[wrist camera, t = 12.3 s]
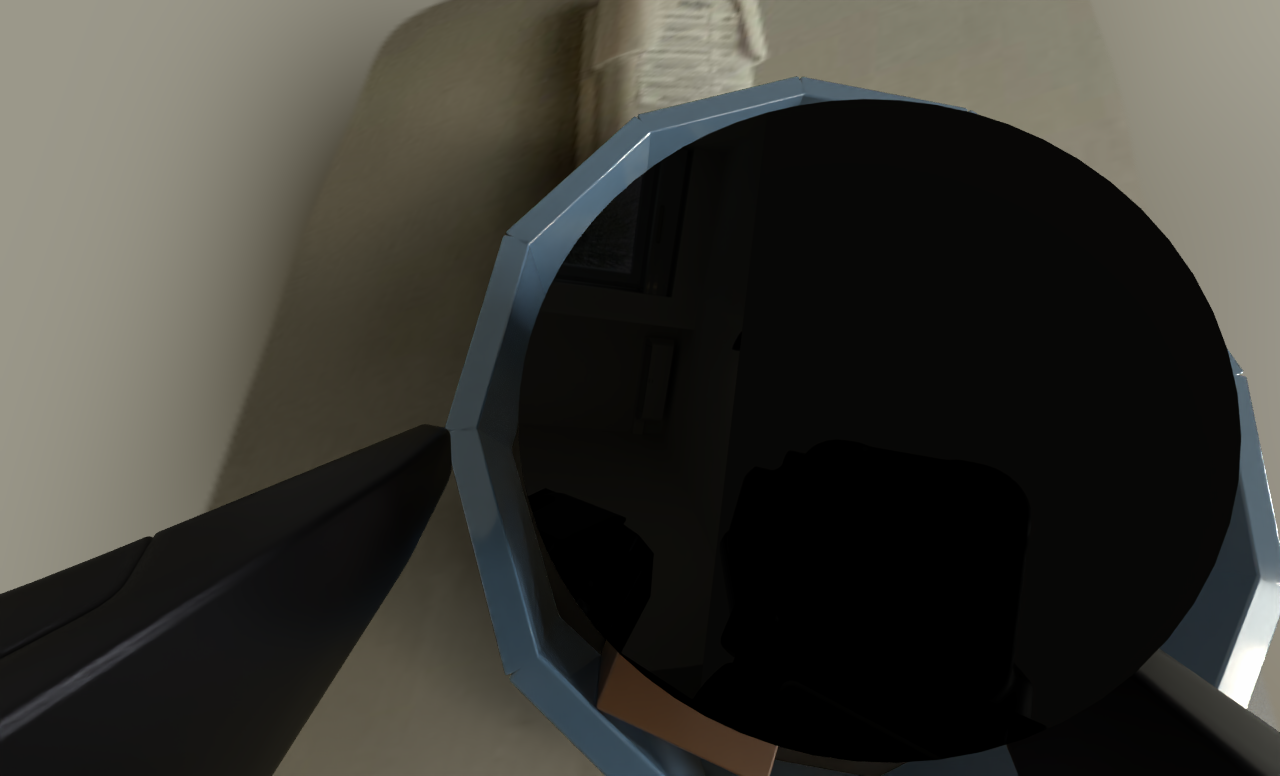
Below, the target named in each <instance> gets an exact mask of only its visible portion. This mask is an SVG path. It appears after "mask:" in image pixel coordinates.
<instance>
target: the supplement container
mask: <svg viewBox="0 0 1280 776" xmlns="http://www.w3.org/2000/svg"><path fill="white" fill-rule="evenodd" d="M518 425H519V447H520V456H521V464H522V472H523V476H524V481H525V486H526V491H527V495H528V499H529V503H530V506H531V509H532V512H533V516H534V519H535V522H536V525H537V528H538V530H539V533H540V535H541V538H542V540H543V543H544V545H545V547H546V550H547V552H548V554H549V556H550V558H551V560H552V562H553V564H554V566H555V568H556V570H557V572H558V574H559V575H560V577H561V579H562V581H563V582H564V584H565V586H566V587H567V589H568V590H569V592H570V593H571V595H572V596H573V598H574V600H575V601H576V603H577V604H578V606H579V607H580V608H581V610H582V611H583V612H584V613H585V615H586V616H587V617H588V619H589V620H590V621H591V622H592V624H593V625H594V626H595V628H596V629H597V630H598V631H599V632H600V633H601V634H602V636H603V637H604V638H605V639H606V640H607V641H608V642H609V643H610V644H611V645H612V646H613V647H614V648H615V649H616V651H617V652H618V653H619V654H620V655H621V656H622V657H624V658H625V659H626V660H627V661H628V662H629V663H630V664H632V665H633V666H634V667H635V668H636V669H637V670H638V671H639V672H641V673H642V674H643V675H644V676H645V677H646V678H648V679H649V680H650V681H652V682H653V683H654V684H656V685H657V686H659V687H660V688H661V689H663V690H664V691H665V692H667V693H668V694H669V695H671V696H672V697H674V698H675V699H677V700H678V701H680V702H682V703H684V704H685V705H687V706H689V707H690V708H692V709H694V710H695V711H697V712H699V713H700V714H702V715H704V716H705V717H707V718H710V719H712V720H714V721H716V722H718V723H720V724H722V725H724V726H726V727H729V728H731V729H733V730H735V731H737V732H739V733H742V734H745V735H748V736H750V737H753V738H756V739H759V740H761V741H764V742H767V743H770V744H773V745H775V746H779V747H783V748H787V749H791V750H795V751H799V752H803V753H807V754H811V755H816V756H823V757H830V758H837V759H844V760H851V761H866V762H891V763H899V762H914V761H929V760H940V759H946V758H951V757H957V756H963V755H968V754H974V753H979V752H983V751H987V750H990V749H993V748H997V747H1000V746H1003V745H1006V744H1010V743H1013V742H1016V741H1020V740H1023V739H1025V738H1028V737H1030V736H1032V735H1034V734H1037V733H1039V732H1041V731H1044V730H1046V729H1048V728H1050V727H1053V726H1055V725H1057V724H1060V723H1062V722H1064V721H1066V720H1067V719H1069V718H1071V717H1072V716H1074V715H1076V714H1077V713H1079V712H1081V711H1082V710H1084V709H1086V708H1087V707H1089V706H1091V705H1092V704H1094V703H1096V702H1098V701H1099V700H1101V699H1102V698H1104V697H1105V696H1106V695H1107V694H1109V693H1110V692H1111V691H1113V690H1114V689H1115V688H1116V687H1118V686H1119V685H1120V684H1121V683H1123V682H1124V681H1125V680H1127V679H1128V678H1129V677H1130V676H1132V675H1133V674H1134V673H1135V672H1137V671H1138V670H1139V669H1140V668H1141V667H1142V666H1143V665H1144V664H1145V663H1146V661H1147V660H1148V659H1149V658H1150V657H1151V656H1152V655H1153V654H1154V653H1155V652H1156V651H1157V650H1158V649H1159V648H1160V647H1161V646H1162V645H1163V644H1164V643H1165V642H1166V641H1167V640H1168V639H1169V637H1170V636H1171V635H1172V633H1173V632H1174V630H1175V629H1176V628H1177V626H1178V625H1179V624H1180V622H1181V621H1182V620H1183V618H1184V617H1185V615H1186V614H1187V613H1188V611H1189V610H1190V609H1191V607H1192V606H1193V605H1194V603H1195V601H1196V599H1197V597H1198V596H1199V594H1200V592H1201V590H1202V588H1203V586H1204V584H1205V582H1206V581H1207V579H1208V577H1209V575H1210V573H1211V571H1212V569H1213V568H1214V566H1215V563H1216V561H1217V558H1218V555H1219V552H1220V550H1221V547H1222V544H1223V541H1224V539H1225V536H1226V533H1227V530H1228V528H1229V525H1230V521H1231V516H1232V511H1233V506H1234V502H1235V497H1236V492H1237V487H1238V482H1239V469H1240V452H1241V426H1240V415H1239V403H1238V393H1237V388H1236V384H1235V380H1234V375H1233V371H1232V366H1231V362H1230V357H1229V353H1228V350H1227V347H1226V345H1225V342H1224V339H1223V337H1222V334H1221V331H1220V329H1219V326H1218V323H1217V321H1216V318H1215V315H1214V313H1213V311H1212V309H1211V307H1210V305H1209V303H1208V301H1207V299H1206V297H1205V295H1204V294H1203V292H1202V290H1201V288H1200V286H1199V285H1198V282H1197V280H1196V279H1195V277H1194V275H1193V273H1192V272H1191V271H1190V269H1189V268H1188V266H1187V265H1186V263H1185V262H1184V261H1183V259H1182V258H1181V256H1180V255H1179V253H1178V252H1177V251H1176V249H1175V248H1174V246H1173V245H1172V243H1171V242H1170V241H1169V239H1168V238H1167V237H1166V236H1165V235H1164V234H1163V233H1162V232H1161V230H1160V229H1159V228H1158V227H1157V226H1156V225H1155V224H1154V223H1153V221H1152V220H1151V219H1150V218H1149V217H1148V216H1147V215H1146V214H1145V213H1144V211H1143V210H1142V209H1141V208H1140V207H1138V206H1137V205H1136V204H1135V203H1134V202H1133V201H1132V200H1130V199H1129V198H1128V197H1127V196H1126V195H1125V194H1124V193H1123V192H1121V191H1120V190H1119V189H1118V188H1117V187H1116V186H1115V185H1114V184H1112V183H1111V182H1110V181H1109V180H1107V179H1106V178H1104V177H1103V176H1101V175H1100V174H1099V173H1097V172H1096V171H1094V170H1093V169H1092V168H1090V167H1089V166H1087V165H1086V164H1084V163H1083V162H1082V161H1080V160H1079V159H1077V158H1075V157H1074V156H1072V155H1070V154H1068V153H1066V152H1065V151H1063V150H1061V149H1059V148H1058V147H1056V146H1054V145H1052V144H1050V143H1049V142H1047V141H1045V140H1043V139H1041V138H1039V137H1036V136H1034V135H1032V134H1029V133H1027V132H1025V131H1022V130H1020V129H1018V128H1015V127H1013V126H1011V125H1009V124H1006V123H1003V122H1000V121H996V120H993V119H990V118H987V117H984V116H981V115H978V114H975V113H971V112H967V111H962V110H958V109H953V108H949V107H944V106H940V105H935V104H927V103H919V102H911V101H903V100H881V99H854V100H836V101H826V102H818V103H811V104H804V105H797V106H793V107H789V108H784V109H780V110H776V111H771V112H767V113H764V114H761V115H757V116H754V117H751V118H748V119H745V120H742V121H739V122H736V123H733V124H731V125H729V126H726V127H724V128H721V129H719V130H717V131H714V132H712V133H709V134H707V135H705V136H703V137H701V138H699V139H698V140H696V141H694V142H692V143H690V144H688V145H686V146H684V147H682V148H680V149H679V150H677V151H676V152H674V153H672V154H671V155H669V156H668V157H666V158H665V159H663V160H661V161H660V162H658V163H657V164H655V165H654V166H653V167H651V168H650V169H649V170H647V171H646V172H645V173H643V174H642V175H641V176H639V177H638V178H637V179H635V180H634V181H633V182H632V183H631V184H630V185H628V186H627V187H626V188H625V189H624V190H623V191H622V192H621V193H620V194H618V195H617V196H616V197H615V198H614V199H613V200H612V201H611V202H610V203H609V204H608V205H607V206H606V207H605V208H604V209H603V211H602V212H601V213H600V214H599V215H598V216H597V217H596V218H595V219H594V220H593V221H592V223H591V224H590V225H589V226H588V228H587V229H586V230H585V231H584V233H583V234H582V235H581V237H580V238H579V239H578V240H577V242H576V243H575V245H574V246H573V248H572V249H571V251H570V252H569V254H568V255H567V257H566V258H565V260H564V261H563V263H562V265H561V266H560V268H559V270H558V272H557V274H556V276H555V277H554V279H553V281H552V283H551V285H550V287H549V289H548V291H547V293H546V296H545V298H544V300H543V302H542V305H541V307H540V309H539V312H538V315H537V318H536V321H535V323H534V326H533V329H532V332H531V335H530V339H529V343H528V347H527V351H526V356H525V360H524V365H523V371H522V378H521V385H520V395H519V411H518Z"/></svg>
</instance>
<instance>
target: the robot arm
mask: <svg viewBox="0 0 1280 776" xmlns="http://www.w3.org/2000/svg"><path fill="white" fill-rule="evenodd" d="M451 470H452V456H451V436H450V432H449V431H448V430H447V429H446V428H443V427H438V426H433V425H428V424H423V425H420V426H417V427H415V428H412V429H410V430H407V431H405V432H402V433H400V434H398V435H395V436H393V437H390V438H388V439H385V440H383V441H380V442H378V443H376V444H373V445H371V446H368V447H366V448H363V449H361V450H358V451H356V452H353V453H351V454H349V455H346V456H344V457H341V458H339V459H336V460H334V461H331V462H329V463H327V464H324V465H322V466H319V467H317V468H314V469H312V470H309V471H307V472H304V473H302V474H300V475H297V476H295V477H292V478H290V479H287V480H285V481H282V482H280V483H278V484H275V485H273V486H270V487H268V488H265V489H263V490H260V491H258V492H255V493H253V494H251V495H248V496H246V497H243V498H241V499H238V500H236V501H233V502H231V503H228V504H226V505H224V506H221V507H219V508H216V509H214V510H211V511H209V512H206V513H204V514H201V515H199V516H197V517H194V518H192V519H189V520H187V521H184V522H182V523H180V524H177V525H174V526H172V527H170V528H167V529H165V530H162V531H160V532H158V533H156V534H155V536H154V537H145V538H142V539H140V540H137V541H135V542H132V543H130V544H128V545H125V546H123V547H120V548H118V549H115V550H113V551H111V552H108V553H106V554H103V555H101V556H98V557H96V558H93V559H90V560H88V561H85V562H83V563H80V564H78V565H75V566H73V567H70V568H68V569H65V570H62V571H60V572H57V573H55V574H52V575H50V576H47V577H45V578H42V579H40V580H37V581H34V582H32V583H29V584H26V585H24V586H21V587H18V588H16V589H13V590H10V591H7V592H5V593H2V594H0V776H272V775H273V773H274V772H275V770H276V769H277V767H278V766H279V764H280V762H281V761H282V759H283V758H284V756H285V755H286V753H287V751H288V750H289V748H290V747H291V745H292V744H293V742H294V741H295V739H296V737H297V736H298V734H299V733H300V731H301V730H302V728H303V726H304V725H305V723H306V722H307V720H308V719H309V717H310V715H311V714H312V712H313V711H314V709H315V708H316V706H317V704H318V703H319V701H320V700H321V698H322V697H323V695H324V693H325V692H326V690H327V689H328V687H329V686H330V684H331V682H332V681H333V679H334V678H335V676H336V675H337V673H338V671H339V670H340V668H341V667H342V665H343V664H344V662H345V660H346V659H347V657H348V656H349V654H350V653H351V651H352V649H353V648H354V646H355V645H356V643H357V642H358V640H359V638H360V637H361V635H362V634H363V632H364V631H365V629H366V627H367V626H368V624H369V623H370V621H371V620H372V618H373V616H374V615H375V613H376V612H377V610H378V609H379V607H380V605H381V604H382V602H383V601H384V599H385V598H386V596H387V594H388V593H389V591H390V590H391V588H392V587H393V585H394V583H395V582H396V580H397V579H398V577H399V576H400V574H401V572H402V571H403V569H404V567H405V566H406V564H407V562H408V561H409V559H410V557H411V555H412V553H413V551H414V549H415V547H416V545H417V543H418V541H419V539H420V537H421V535H422V533H423V531H424V529H425V527H426V525H427V523H428V521H429V519H430V517H431V515H432V513H433V511H434V509H435V507H436V505H437V503H438V501H439V499H440V497H441V495H442V493H443V491H444V489H445V487H446V485H447V483H448V481H449V478H450V475H451ZM1006 746H1007V748H1008V751H1009V753H1010V756H1011V759H1012V761H1013V764H1014V766H1015V769H1016V771H1017V774H1018V776H1280V732H1278V731H1277V730H1276V729H1274V728H1273V727H1271V726H1270V725H1268V724H1267V723H1266V722H1264V721H1263V720H1261V719H1260V718H1258V717H1257V716H1256V715H1254V714H1253V713H1251V712H1250V711H1248V710H1247V709H1245V708H1244V707H1243V706H1241V705H1240V704H1238V703H1237V702H1235V701H1234V700H1233V699H1231V698H1230V697H1228V696H1227V695H1225V694H1224V693H1223V692H1221V691H1220V690H1218V689H1217V688H1215V687H1214V686H1213V685H1211V684H1210V683H1208V682H1207V681H1205V680H1204V679H1203V678H1201V677H1200V676H1198V675H1197V674H1195V673H1194V672H1193V671H1191V670H1190V669H1188V668H1187V667H1185V666H1184V665H1183V664H1181V663H1180V662H1178V661H1177V660H1175V659H1174V658H1173V657H1171V656H1170V655H1168V654H1167V653H1165V652H1164V651H1162V650H1161V649H1160V648H1159V649H1158V650H1157V651H1156V652H1155V653H1154V654H1153V655H1152V656H1151V657H1150V658H1149V659H1148V660H1147V661H1146V663H1145V664H1144V665H1143V666H1142V667H1141V668H1140V669H1139V670H1138V671H1137V672H1135V673H1134V674H1133V675H1132V676H1130V677H1129V678H1128V679H1127V680H1125V681H1124V682H1123V683H1121V684H1120V685H1119V686H1118V687H1116V688H1115V689H1114V690H1113V691H1111V692H1110V693H1109V694H1107V695H1106V696H1105V697H1104V698H1102V699H1101V700H1099V701H1098V702H1096V703H1094V704H1092V705H1091V706H1089V707H1087V708H1086V709H1084V710H1082V711H1081V712H1079V713H1077V714H1076V715H1074V716H1072V717H1071V718H1069V719H1067V720H1066V721H1064V722H1062V723H1060V724H1057V725H1055V726H1053V727H1050V728H1048V729H1046V730H1044V731H1041V732H1039V733H1037V734H1034V735H1032V736H1030V737H1028V738H1025V739H1023V740H1020V741H1016V742H1013V743H1010V744H1006Z"/></svg>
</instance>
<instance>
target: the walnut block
mask: <svg viewBox="0 0 1280 776" xmlns="http://www.w3.org/2000/svg"><path fill="white" fill-rule="evenodd" d="M596 707H597V708H598V709H599V710H601V711H603V712H605V713H607V714H609V715H612V716H614V717H616V718H618V719H620V720H622V721H624V722H626V723H628V724H631V725H633V726H635V727H637V728H639V729H641V730H643V731H645V732H647V733H650V734H652V735H654V736H656V737H658V738H660V739H662V740H664V741H666V742H669V743H671V744H673V745H675V746H677V747H679V748H681V749H683V750H686V751H688V752H690V753H692V754H694V755H696V756H698V757H700V758H702V759H705V760H707V761H709V762H711V763H713V764H715V765H717V766H719V767H721V768H724V769H726V770H728V771H730V772H732V773H734V774H736V775H738V776H770V774H771V770H772V767H773V763H774V760H775V756H776V752H777V749H778V746H775V745H773V744H770V743H767V742H764V741H761V740H759V739H756V738H753V737H750V736H748V735H745V734H742V733H739V732H737V731H735V730H733V729H731V728H729V727H726V726H724V725H722V724H720V723H718V722H716V721H714V720H712V719H710V718H707V717H705V716H704V715H702V714H700V713H699V712H697V711H695V710H694V709H692V708H690V707H689V706H687V705H685V704H684V703H682V702H680V701H678V700H677V699H675V698H674V697H672V696H671V695H669V694H668V693H667V692H665V691H664V690H663V689H661V688H660V687H659V686H657V685H656V684H654V683H653V682H652V681H650V680H649V679H648V678H646V677H645V676H644V675H643V674H642V673H641V672H639V671H638V670H637V669H636V668H635V667H634V666H633V665H632V664H630V663H629V662H628V661H627V660H626V659H625V658H624V657H622V656H621V655H620V654H619V653H618V652H617V651H616V649H615V648H614V647H613V646H612V645H611V644H610V643H609V642H608V641H607V640H606V642H605V644H604V647H603V649H602V652H601V662H600V672H599V683H598V693H597V704H596Z"/></svg>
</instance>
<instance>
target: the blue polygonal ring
mask: <svg viewBox="0 0 1280 776" xmlns="http://www.w3.org/2000/svg"><path fill="white" fill-rule="evenodd" d="M854 99H881V100H903V101H911V102H919V103H927V104H935V105H940V106H944V107H949V108H953V109H958V110H962V111H967V109H966V108H963V107H958V106H952V105H947V104H942V103H937V102H932V101H926V100H921V99H916V98H911V97H906V96H900V95H895V94H890V93H885V92H880V91H874V90H869V89H864V88H859V87H854V86H848V85H843V84H838V83H833V82H828V81H822V80H817V79H812V78H807V77H801V78H800V79H799V77H797V76H796V77H792V78H788V79H783V80H779V81H775V82H771V83H767V84H763V85H759V86H754V87H750V88H746V89H742V90H738V91H734V92H730V93H725V94H721V95H717V96H713V97H709V98H705V99H701V100H696V101H692V102H688V103H684V104H680V105H676V106H671V107H667V108H663V109H659V110H655V111H651V112H647V113H642V114H639V115H638V118H637V117H633V118H632V119H631V120H630V121H629V122H628V123H627V124H625V125H624V126H623V127H622V128H621V129H620V130H619V131H618V132H617V133H615V134H614V135H613V136H612V137H611V138H610V139H609V140H608V141H606V142H605V143H604V144H603V145H602V146H601V147H600V148H599V149H598V150H596V151H595V152H594V153H593V154H592V155H591V156H590V157H589V158H588V159H586V160H585V161H584V162H583V163H582V164H581V165H580V166H579V167H578V168H576V169H575V170H574V171H573V172H572V173H571V174H570V175H569V176H568V177H566V178H565V179H564V180H563V181H562V182H561V183H560V184H559V185H558V186H556V187H555V188H554V189H553V190H552V191H551V192H550V193H549V194H548V195H546V196H545V197H544V198H543V199H542V200H541V201H540V202H539V203H538V204H536V205H535V206H534V207H533V208H532V209H531V210H530V211H529V212H527V213H526V214H525V215H524V216H523V217H522V218H521V219H520V220H519V221H517V222H516V223H515V224H514V225H513V226H512V227H511V228H510V229H509V230H507V232H506V234H507V236H506V235H504V236H503V239H502V242H501V245H500V248H499V252H498V255H497V258H496V262H495V265H494V268H493V271H492V275H491V278H490V281H489V285H488V288H487V291H486V294H485V298H484V301H483V304H482V308H481V311H480V314H479V317H478V321H477V324H476V327H475V331H474V334H473V337H472V340H471V344H470V347H469V350H468V354H467V357H466V360H465V363H464V367H463V370H462V373H461V376H460V380H459V383H458V386H457V390H456V393H455V396H454V399H453V403H452V406H451V409H450V413H449V416H448V419H447V422H446V426H445V428H446V429H447V430H448V431H449V432H450V436H451V456H452V467H453V470H454V474H455V478H456V482H457V486H458V490H459V494H460V498H461V502H462V506H463V510H464V514H465V518H466V522H467V526H468V530H469V534H470V538H471V542H472V546H473V550H474V554H475V558H476V562H477V566H478V569H479V573H480V577H481V581H482V585H483V589H484V593H485V597H486V601H487V605H488V609H489V613H490V617H491V621H492V625H493V629H494V633H495V637H496V641H497V645H498V649H499V653H500V657H501V661H502V664H503V668H504V672H505V674H506V675H509V674H511V673H512V674H511V676H510V682H511V683H512V684H513V685H514V686H515V687H516V688H517V689H518V690H519V691H520V692H521V693H522V694H523V695H524V696H525V697H526V698H527V699H528V700H529V701H530V702H531V703H532V704H533V705H534V706H535V707H536V708H537V709H538V710H539V711H540V712H541V713H542V714H543V715H544V716H546V717H547V718H548V719H549V720H550V721H551V722H552V723H553V724H554V725H555V726H556V727H557V728H558V729H559V730H560V731H561V732H562V733H563V734H564V735H565V736H566V737H567V738H568V739H569V740H570V741H571V742H572V743H573V744H574V745H575V746H576V747H577V748H578V749H579V750H580V751H581V752H582V753H583V754H584V755H585V756H586V757H587V758H588V759H589V760H590V761H591V762H592V763H593V764H594V765H595V766H596V767H597V768H598V769H599V770H600V771H601V772H602V773H603V774H604V775H605V776H738V775H736V774H734V773H732V772H730V771H728V770H726V769H724V768H721V767H719V766H717V765H715V764H713V763H711V762H709V761H707V760H705V759H702V758H700V757H698V756H696V755H694V754H692V753H690V752H688V751H686V750H683V749H681V748H679V747H677V746H675V745H673V744H671V743H669V742H666V741H664V740H662V739H660V738H658V737H656V736H654V735H652V734H650V733H647V732H645V731H643V730H641V729H639V728H637V727H635V726H633V725H631V724H628V723H626V722H624V721H622V720H620V719H618V718H616V717H614V716H612V715H609V714H607V713H605V712H603V711H601V710H599V709H598V708H597V707H596V704H597V693H598V683H599V672H600V662H601V655H600V654H599V653H598V652H597V651H596V650H595V649H594V648H593V647H592V646H591V645H590V644H588V643H587V642H586V641H585V640H584V639H583V638H582V637H581V636H580V635H579V634H578V633H577V632H576V631H575V630H574V629H573V628H572V627H571V626H569V625H568V624H567V623H566V622H565V621H564V620H563V619H562V618H561V617H560V616H559V613H558V610H557V606H556V603H555V599H554V596H553V592H552V589H551V585H550V582H549V578H548V575H547V572H546V568H545V565H544V561H543V558H542V554H541V551H540V547H539V544H538V540H537V537H536V533H535V530H534V526H533V523H532V519H531V516H530V512H529V509H528V505H527V502H526V498H525V495H524V492H523V488H522V485H521V481H520V478H519V474H518V471H517V467H516V464H515V460H514V457H513V453H512V446H513V443H514V439H515V435H516V431H517V427H518V411H519V395H520V385H521V378H522V371H523V365H524V360H525V356H526V351H527V347H528V343H529V339H530V335H531V332H532V329H533V326H534V323H535V321H536V318H537V315H538V312H539V309H540V307H541V305H542V302H543V300H544V298H545V296H546V293H547V291H548V289H549V287H550V285H551V283H552V281H553V279H554V277H555V276H556V274H557V272H558V270H559V268H560V266H561V265H562V263H563V261H564V260H565V258H566V257H567V255H568V254H569V252H570V251H571V249H572V248H573V246H574V245H575V243H576V242H577V240H578V239H579V238H580V237H581V235H582V234H583V233H584V231H585V230H586V229H587V228H588V226H589V225H590V224H591V223H592V221H593V220H594V219H595V218H596V217H597V216H598V215H599V214H600V213H601V212H602V211H603V209H604V208H605V207H606V206H607V205H608V204H609V203H610V202H611V201H612V200H613V199H614V198H615V197H616V196H617V195H618V194H620V193H621V192H622V191H623V190H624V189H625V188H626V187H627V186H628V185H630V184H631V183H632V182H633V181H634V180H635V179H637V178H638V177H639V176H641V175H642V174H643V173H645V172H646V171H647V170H649V169H650V168H651V167H653V166H654V165H655V164H657V163H658V162H660V161H661V160H663V159H665V158H666V157H668V156H669V155H671V154H672V153H674V152H676V151H677V150H679V149H680V148H682V147H684V146H686V145H688V144H690V143H692V142H694V141H696V140H698V139H699V138H701V137H703V136H705V135H707V134H709V133H712V132H714V131H717V130H719V129H721V128H724V127H726V126H729V125H731V124H733V123H736V122H739V121H742V120H745V119H748V118H751V117H754V116H757V115H761V114H764V113H767V112H771V111H776V110H780V109H784V108H789V107H793V106H797V105H804V104H811V103H818V102H826V101H836V100H854ZM968 112H971V113H975V112H974V111H972V110H970V111H968ZM975 114H977V113H975ZM978 115H979V114H978ZM1227 350H1228V349H1227ZM1228 353H1229V357H1230V362H1231V366H1232V371H1233V375H1234V380H1235V384H1236V388H1237V393H1238V403H1239V415H1240V426H1241V452H1240V469H1239V482H1238V487H1237V492H1236V497H1235V502H1234V506H1233V511H1232V516H1231V521H1230V525H1229V528H1228V530H1227V533H1226V536H1225V539H1224V541H1223V544H1222V547H1221V550H1220V552H1219V555H1218V558H1217V561H1216V563H1215V566H1214V568H1213V569H1212V571H1211V573H1210V575H1209V577H1208V579H1207V581H1206V582H1205V584H1204V586H1203V588H1202V590H1201V592H1200V594H1199V596H1198V597H1197V599H1196V601H1195V603H1194V605H1193V606H1192V607H1191V609H1190V610H1189V611H1188V613H1187V614H1186V615H1185V617H1184V618H1183V620H1182V621H1181V622H1180V624H1179V625H1178V626H1177V628H1176V629H1175V630H1174V632H1173V633H1172V635H1171V636H1170V637H1169V639H1168V640H1167V641H1166V642H1165V643H1164V644H1163V645H1162V646H1161V647H1160V649H1161V650H1162V651H1164V652H1165V653H1167V654H1168V655H1170V656H1171V657H1173V658H1174V659H1175V660H1177V661H1178V662H1180V663H1181V664H1183V665H1184V666H1185V667H1187V668H1188V669H1190V670H1191V671H1193V672H1194V673H1195V674H1197V675H1198V676H1200V677H1201V678H1203V679H1204V680H1205V681H1207V682H1208V683H1210V684H1211V685H1213V686H1214V687H1215V688H1217V689H1218V690H1220V691H1221V692H1223V693H1224V694H1225V695H1227V696H1228V697H1230V698H1231V699H1233V700H1234V701H1235V702H1237V703H1238V704H1240V705H1241V706H1243V707H1244V708H1245V709H1247V708H1248V705H1249V702H1250V699H1251V697H1252V694H1253V691H1254V688H1255V685H1256V683H1257V680H1258V677H1259V674H1260V672H1261V669H1262V666H1263V663H1264V660H1265V658H1266V655H1267V652H1268V649H1269V646H1270V644H1271V641H1272V638H1273V635H1274V633H1275V630H1276V627H1277V624H1278V621H1279V619H1280V540H1279V535H1278V530H1277V525H1276V520H1275V515H1274V510H1273V505H1272V501H1271V496H1270V491H1269V486H1268V481H1267V476H1266V471H1265V467H1264V461H1263V457H1262V451H1261V446H1260V442H1259V437H1258V432H1257V427H1256V422H1255V417H1254V412H1253V407H1252V402H1251V397H1250V392H1249V387H1248V383H1247V378H1246V377H1245V376H1242V375H1240V374H1242V373H1243V370H1242V369H1241V368H1240V366H1239V365H1238V363H1237V362H1236V360H1235V359H1234V358H1233V356H1232V355H1231V353H1230V352H1229V351H1228ZM770 776H861V775H855V774H850V773H845V772H839V771H834V770H828V769H823V768H818V767H812V766H807V765H801V764H796V763H791V762H785V761H780V760H774V763H773V767H772V770H771V774H770ZM881 776H1018V774H1017V771H1016V769H1015V766H1014V764H1013V761H1012V759H1011V756H1010V753H1009V751H1008V748H1007V746H1006V745H1003V746H1000V747H997V748H993V749H990V750H987V751H983V752H979V753H974V754H968V755H963V756H957V757H951V758H946V759H940V760H929V761H914V762H907V763H905V764H903V765H901V766H899V767H897V768H895V769H893V770H891V771H889V772H887V773H885V774H883V775H881Z"/></svg>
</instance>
